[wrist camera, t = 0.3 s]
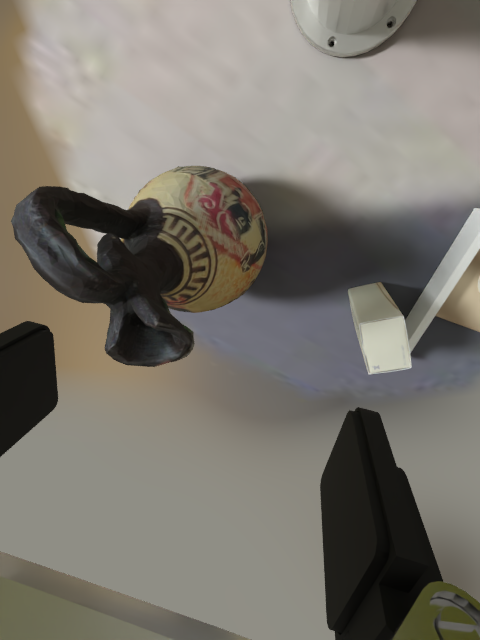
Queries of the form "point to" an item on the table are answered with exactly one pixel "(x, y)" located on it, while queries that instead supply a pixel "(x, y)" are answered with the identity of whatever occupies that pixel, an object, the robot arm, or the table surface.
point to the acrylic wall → (444, 278)
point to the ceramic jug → (149, 255)
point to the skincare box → (379, 329)
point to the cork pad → (465, 298)
